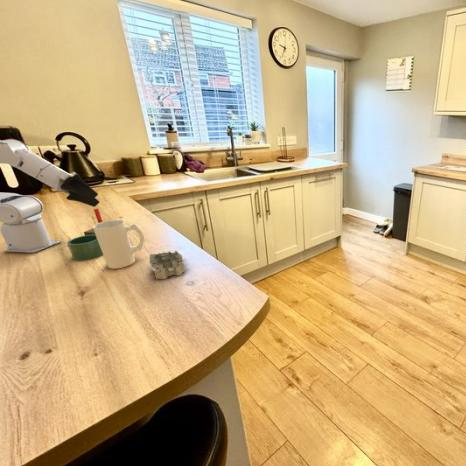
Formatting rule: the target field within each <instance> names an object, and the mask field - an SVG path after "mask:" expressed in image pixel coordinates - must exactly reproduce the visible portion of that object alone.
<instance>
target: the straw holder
mask: <svg viewBox="0 0 466 466" xmlns="http://www.w3.org/2000/svg"><path fill="white" fill-rule="evenodd" d="M86 235H96V234H95V232H94V229H93V228H91V229H88V230H85V231H83V236H86Z"/></svg>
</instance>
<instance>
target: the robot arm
mask: <svg viewBox="0 0 466 466" xmlns="http://www.w3.org/2000/svg"><path fill="white" fill-rule="evenodd" d="M0 164H4V165H5V164H6V165H10V166H11V167H13V168H16V169H18V170H20V171H21V172H23V173H25V174H26V175H28V176H30V177H32V178H34V179H36V180H38V181H40V182H41V183H43V184H45V185H47V186H49V187H50V188H53V189H54V191H56V192H59V193H64V194H66V195H67V196H66V197H65V199H66V200H68V201H73V202H78V203H82V204H85V205H87V206H90V207H95V208H96V207H97V206H98V205H99V204H100V200H98V198H96V197H98V196H99V193H98V192H97V191H96V190H94V188H92V187H91V186H90V185H88V183H86V182H85V181H84V179H82V177H81V176H80V174H78V173H77V172H75V171H72V172H71V173H68V172H67V171H65V170H63V169H62V168H60V167H58V166H56V165H55V164H53V163H51V162H49V161H48V160H46V159H44V158H43V157H41V156H39V155H37V154H36V153H34V152H32V151H31V150H30V149H29V147H28V146H27V145H26V143H24V142H23V141H20V140H17V139H14V138H8V139H3V140H1V139H0ZM43 211H44V203H43V202H42V201H41V200H40V199H39V198H37V197H35V196H32V195H23V194H19V193H15V192H0V222H1V223H2V224H1V226H0V233H1V236H2V237H3V240H4V241H5V243H6V246H7V249H5V252H10V253H12V252H13V253H29V254H30V253H31V254H34V253H35V254H36V253H37V252H40V251H42V250H45V249H48V248H50V247H52V246H55V245H57V244H60V240H51V238H50V235H49V233H48V230H47V228H46V226H45V223H44V221H43V219H42V217H43V216H42V213H43Z"/></svg>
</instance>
